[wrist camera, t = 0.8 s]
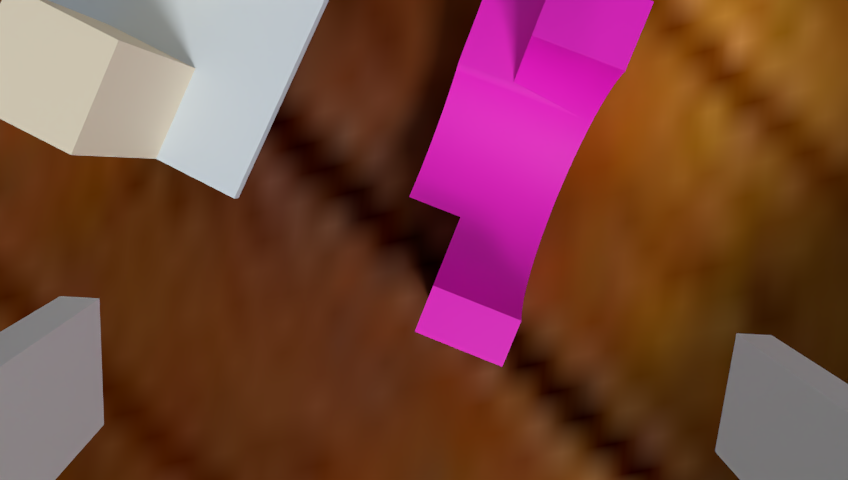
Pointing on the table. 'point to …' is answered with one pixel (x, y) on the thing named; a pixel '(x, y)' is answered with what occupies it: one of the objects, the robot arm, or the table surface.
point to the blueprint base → (223, 75)
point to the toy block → (513, 152)
